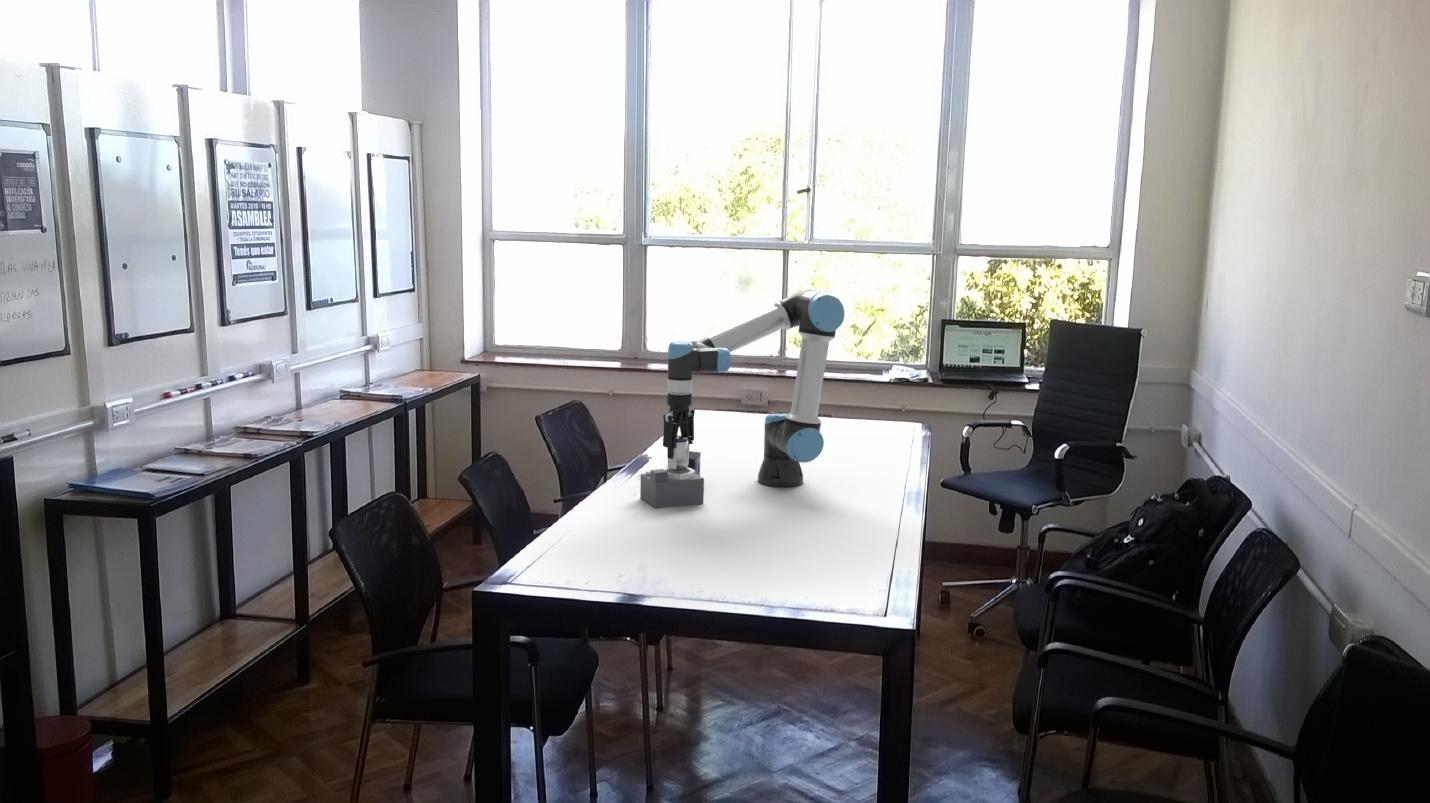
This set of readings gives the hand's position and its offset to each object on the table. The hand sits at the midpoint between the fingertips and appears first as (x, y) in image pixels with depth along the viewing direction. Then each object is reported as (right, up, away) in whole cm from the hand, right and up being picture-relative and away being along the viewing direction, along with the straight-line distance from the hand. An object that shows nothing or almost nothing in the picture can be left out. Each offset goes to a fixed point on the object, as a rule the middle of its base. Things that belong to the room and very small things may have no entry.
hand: (678, 466), depth 339 cm
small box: (+2, -8, +21) cm, 22 cm away
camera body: (-2, -11, +1) cm, 11 cm away
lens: (0, -1, 0) cm, 1 cm away
